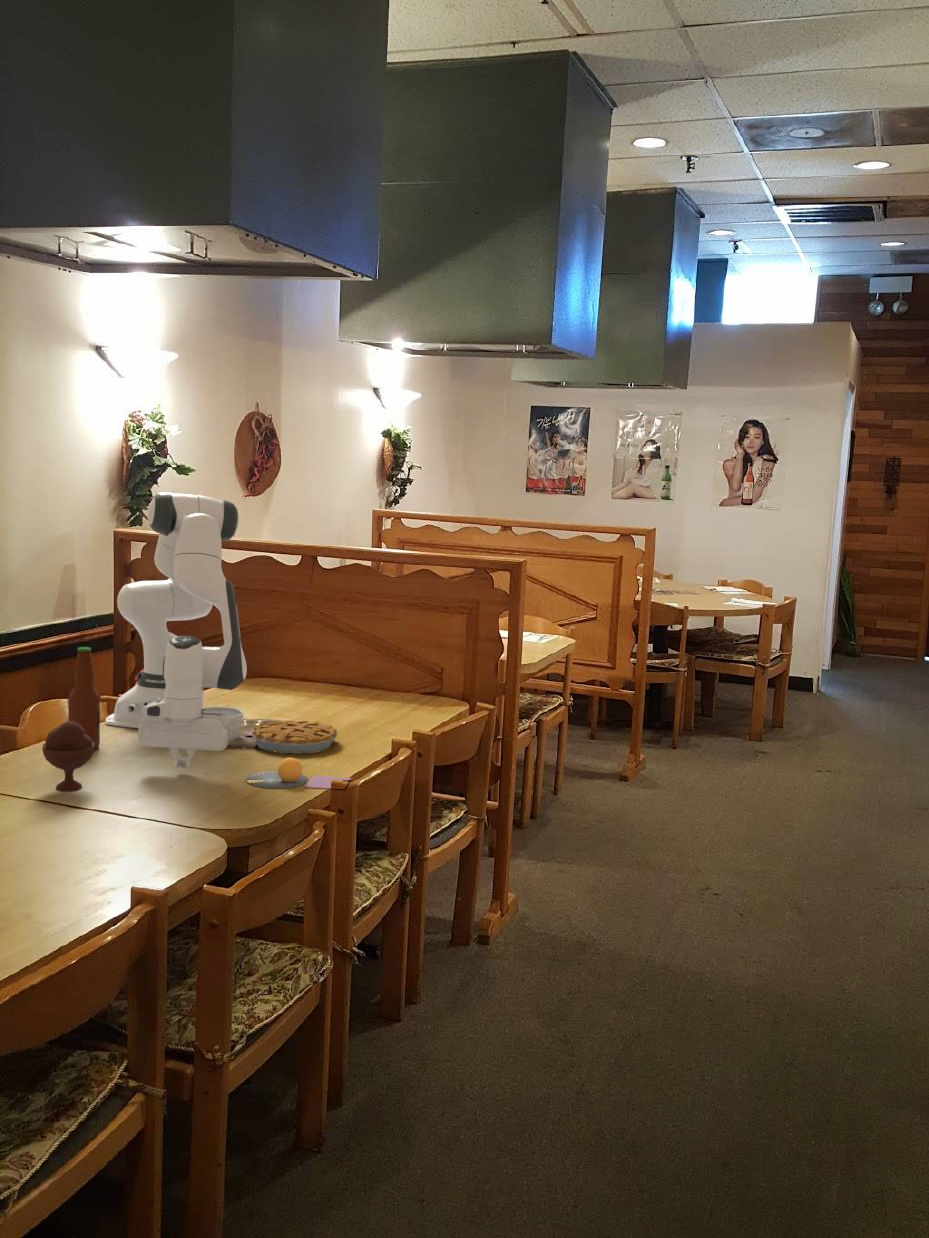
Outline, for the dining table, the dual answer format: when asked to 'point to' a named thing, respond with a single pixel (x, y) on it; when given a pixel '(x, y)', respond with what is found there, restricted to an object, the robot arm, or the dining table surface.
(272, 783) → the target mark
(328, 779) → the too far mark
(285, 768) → the ball
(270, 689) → the dining table surface
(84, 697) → the bottle
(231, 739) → the ramekin
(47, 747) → the ice cream bowl
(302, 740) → the pie
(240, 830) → the dining table surface
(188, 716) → the robot arm
